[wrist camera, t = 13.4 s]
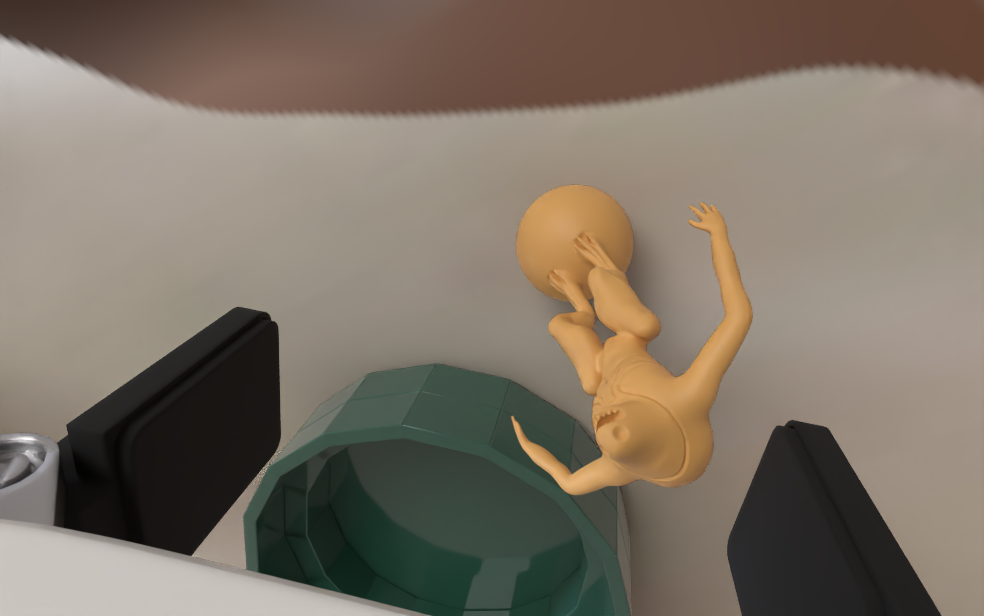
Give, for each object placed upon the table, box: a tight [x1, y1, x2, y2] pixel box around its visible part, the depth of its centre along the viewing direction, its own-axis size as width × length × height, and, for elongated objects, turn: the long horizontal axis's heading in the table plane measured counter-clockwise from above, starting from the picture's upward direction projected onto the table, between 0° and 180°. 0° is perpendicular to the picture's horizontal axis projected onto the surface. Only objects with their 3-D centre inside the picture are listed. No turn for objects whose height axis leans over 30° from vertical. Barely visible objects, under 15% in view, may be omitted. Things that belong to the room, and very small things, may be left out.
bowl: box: [243, 364, 632, 616], centre depth 26 cm, size 16×16×5 cm
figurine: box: [511, 185, 753, 495], centre depth 16 cm, size 8×6×12 cm
